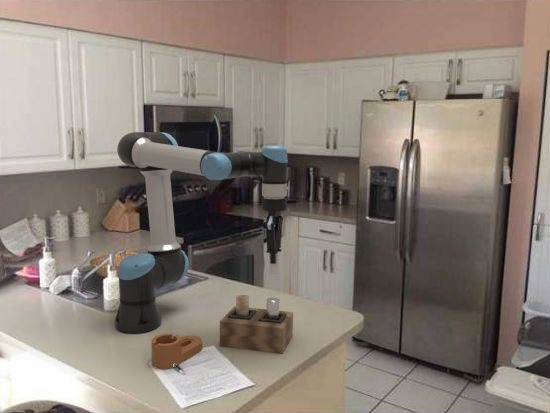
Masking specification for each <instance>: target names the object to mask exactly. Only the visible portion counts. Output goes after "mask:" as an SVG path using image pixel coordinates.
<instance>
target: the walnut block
mask: <svg viewBox="0 0 550 413" xmlns="http://www.w3.org/2000/svg"><path fill="white" fill-rule="evenodd" d="M293 330H294V312H293V311H287V310H286V311H285V310H279V320H271V319H266V308H265V309H264V308H257V307H249V316H248V317H244V316H236V305H234V306H233V307H232V308H231V309H230V310H229V311H228V312H227V313H226V314H225V316H223V317H222V318H221V319H220V320H219V347H225V348H226V347H227V348H234V349H243V350H250V351H257V352H266V353H274V354H282V355H283V354H284V352H285V351H286V348H287V347H288V345H289V342H290V341H291V339H292V337H293V335H294V334H293Z"/></svg>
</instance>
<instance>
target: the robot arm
mask: <svg viewBox="0 0 550 413" xmlns="http://www.w3.org/2000/svg"><path fill="white" fill-rule="evenodd" d="M116 150H117V156H118V157H119V160H120V161H121V162H122V163H123V164H125V165H126V166H129V167H131V168H139V173H141V174H142V175H143V176H144V179H145V189H146V190H145V191H146V200H147V201H146V203H147V211H148V222H149V232H150V233H149V234H150V242H151V244H150V245H149V246H148V248H147V252H143V253H136V254H135V253H134V254H131V255H130V254H129V255H128V256H125V257H124V258H123V259H121V260H120V261H119V263H118V287H119V306H118V309H117V312H116V316H115V319H114V328H115V329H116V330H117V331H119V332H122V333H126V334H127V333H128V334H139V333H145V332H150V331H153V330H156V329H157V328H158V327H160V326H161V324H162V315H161V313H160V310H159V307H158V304H157V302H156V290H159V289H160V288H164V287H166V286H169V285H174V284H176V283H178V282H179V281H182V280H183V279H184V278H185V276H187V274H188V272H189V268H190V262H189V258H188V256H187V254H186V252H185V251H184V250H182V246H181V245H180V244H179V243H178V242H177V240H176V237H177V236H176V229H175V226H176V225H175V217H174V216H175V215H174V207H173V205H174V204H173V193H172V182H171V174H172V172H180V173H181V172H182V173H186V174H192V175H198V176H204V177H206V179H208V180H210V181H222V180H227V179H235V178H243V177H258V178H261V180H262V181H261V196H262V198H261V210H263V211H265V212H267V216H266V222H265V223H264V227H265V228H264V229H265V236H266V239H265V240H266V248H267V249H266V254H268V256H269V257H268V258H269V259H268V262H269V263H268V270H269V271H268V273H269V274H273V275H275V274H276V275H277V274H279V273H280V253H281V252H282V249H281V247H282V234H283V232H282V231H283V223H284V217H283V216H282V214H281V213H282V212H285V211H287V208H288V199H287V195H288V190H289V189H290V187H289V186H288V162H289V161H288V150H287V147H286V146H283V145H264V146H262V149H261V151H259V152H258V151H257V152H256V151H245V150H244V151H243V150H237V151H232V152H219V151H218V152H217V151H213V150H206V149H199V148H194V147H193V148H191V147H184V146H179V145H178V143H177V140H176V139H175V137H173V136H172V135H171V134H169V133H167V132H160V131H145V132H143V131H140V132H139V131H133V132H130V133H129V132H128V133H127V134H124V135H123V136H122V138H120V140H119V141H118V143H117V149H116Z"/></svg>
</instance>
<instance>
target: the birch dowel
mask: <svg viewBox="0 0 550 413" xmlns="http://www.w3.org/2000/svg"><path fill="white" fill-rule="evenodd" d="M249 305H250V298H249V295H247V294H239V295H236V297H235V306H236V316H244V317H248V316H249V308H250V306H249Z"/></svg>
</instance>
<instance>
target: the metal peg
mask: <svg viewBox="0 0 550 413" xmlns="http://www.w3.org/2000/svg"><path fill="white" fill-rule="evenodd" d="M265 305H266V308H265V309H266V319H271V320H279V311H280V298H277V297H268V298H266V304H265Z"/></svg>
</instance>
